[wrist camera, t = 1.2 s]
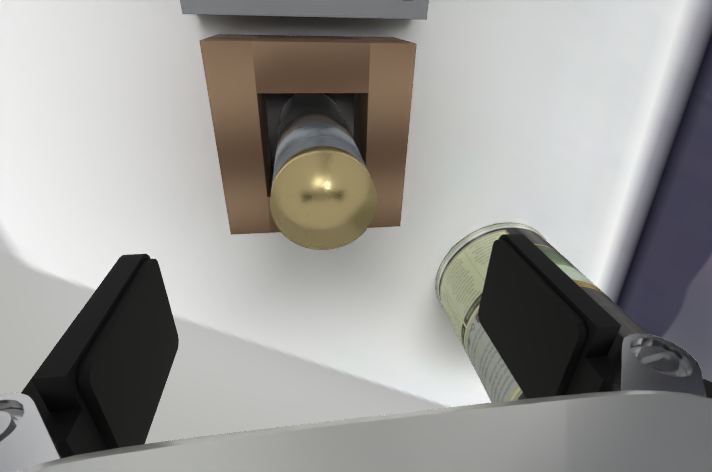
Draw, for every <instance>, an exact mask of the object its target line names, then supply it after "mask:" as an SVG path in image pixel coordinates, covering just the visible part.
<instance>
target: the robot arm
mask: <svg viewBox="0 0 712 472" xmlns="http://www.w3.org/2000/svg"><path fill="white" fill-rule="evenodd" d="M478 318H479V322H480V324H481V325H482V327H483V329H484V330H485V332H486V334H487V335H488V337H489V338H490V340H491V342H492V343H493V345H494V347H495V348H496V350H497V351H498V353H499V355H500V356H501V358H502V359H503V361H504V363H505V364H506V366H507V368H508V369H509V371H510V372H511V374H512V376H513V377H514V379H515V381H516V382H517V384H518V385H519V387H520V389H521V390H522V392H523V394H524V395H525V397H526V398H527V399H522V400H513V401H504V402H495V403H485V404H476V405H467V406H458V407H449V408H441V409H431V410H423V411H414V412H406V413H397V414H387V415H378V416H370V417H361V418H352V419H344V420H336V421H327V422H318V423H311V424H310V423H309V424H301V425H293V426H285V427H276V428H268V429H260V430H251V431H244V432H235V433H227V434H218V435H210V436H202V437H194V438H187V439H179V440H172V441H165V442H157V443H150V444H145V441H146V438H147V435H148V432H149V429H150V426H151V424H152V421H153V418H154V415H155V412H156V409H157V406H158V403H159V401H160V398H161V395H162V392H163V389H164V387H165V384H166V381H167V378H168V375H169V372H170V369H171V366H172V364H173V361H174V358H175V354H176V352H177V349H178V334H177V330H176V326H175V323H174V319H173V315H172V312H171V308H170V304H169V301H168V297H167V293H166V290H165V286H164V282H163V279H162V275H161V271H160V268H159V264H158V261H157V260H156V259H150V257H149V255H147V254H135V255H122V256H121V257H120V258H119V259H118V261H117V262H116V264H115V265H114V266H113V268H112V269H111V270H110V272H109V273H108V275H107V276H106V277H105V279H104V280H103V281H102V283H101V284H100V286H99V287H98V288H97V290H96V291H95V293H94V294H93V295H92V297H91V298H90V299H89V301H88V302H87V303H86V305H85V306H84V308H83V309H82V310H81V312H80V313H79V314H78V315H77V317H76V318H75V320H74V321H73V322H72V324H71V325H70V327H69V328H68V329H67V331H66V332H65V333H64V335H63V336H62V338H61V339H60V340H59V342H58V343H57V344H56V346H55V347H54V349H53V350H52V351H51V353H50V354H49V356H48V357H47V358H46V359H45V361H44V362H43V364H42V365H41V366H40V368H39V369H38V370H37V372H36V373H35V374H34V376H33V377H32V379H31V380H30V381H29V383H28V384H27V386H26V387H25V388H24V390H23V391H22V392H21V393H5V394H1V395H0V472H712V382H710V381H707V380H705V379H703V376H702V371H701V368H700V366H699V364H698V362H697V361H696V360H695V359H694V358H693V357H692V356H691V355H690V354H689V353H687V352H686V351H685V350H684V349H682V348H681V347H679V346H677V345H676V344H674V343H672V342H670V341H668V340H665V339H663V338H660V337H657V336H653V335H649V334H640V333H636V334H630V335H628V336H627V337H625V338H623V337H622V336H621V335H620V334H619V333H618V332H619V330H620V327H621V325H620V324H619V323H618V322H617V321H616V320H615V319H614V318H613V317H612V316H611V315H610V314H609V313H608V312H606V311H605V310H604V309H603V308H602V307H601V306H600V305H599V304H598V303H597V302H596V301H595V300H594V299H593V298H591V297H590V296H589V295H588V294H587V293H586V292H585V291H584V290H583V289H582V288H581V287H580V286H579V285H577V284H576V283H575V282H574V281H573V280H572V279H571V278H570V277H569V276H568V275H567V274H566V273H565V272H564V271H562V270H561V269H560V268H559V267H558V266H557V265H556V264H555V263H554V262H553V261H552V260H551V259H550V258H548V257H547V256H546V255H545V254H544V253H543V252H542V251H541V250H540V249H539V248H538V247H537V246H536V245H535V244H533V243H532V242H531V241H530V240H529V239H528V238H527V237H526V236H525V235H523V234H503V235H501V236H500V237H499V239H498V240H495V241H494V243H493V246H492V251H491V255H490V260H489V264H488V269H487V274H486V278H485V283H484V287H483V292H482V296H481V301H480V305H479V310H478Z"/></svg>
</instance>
